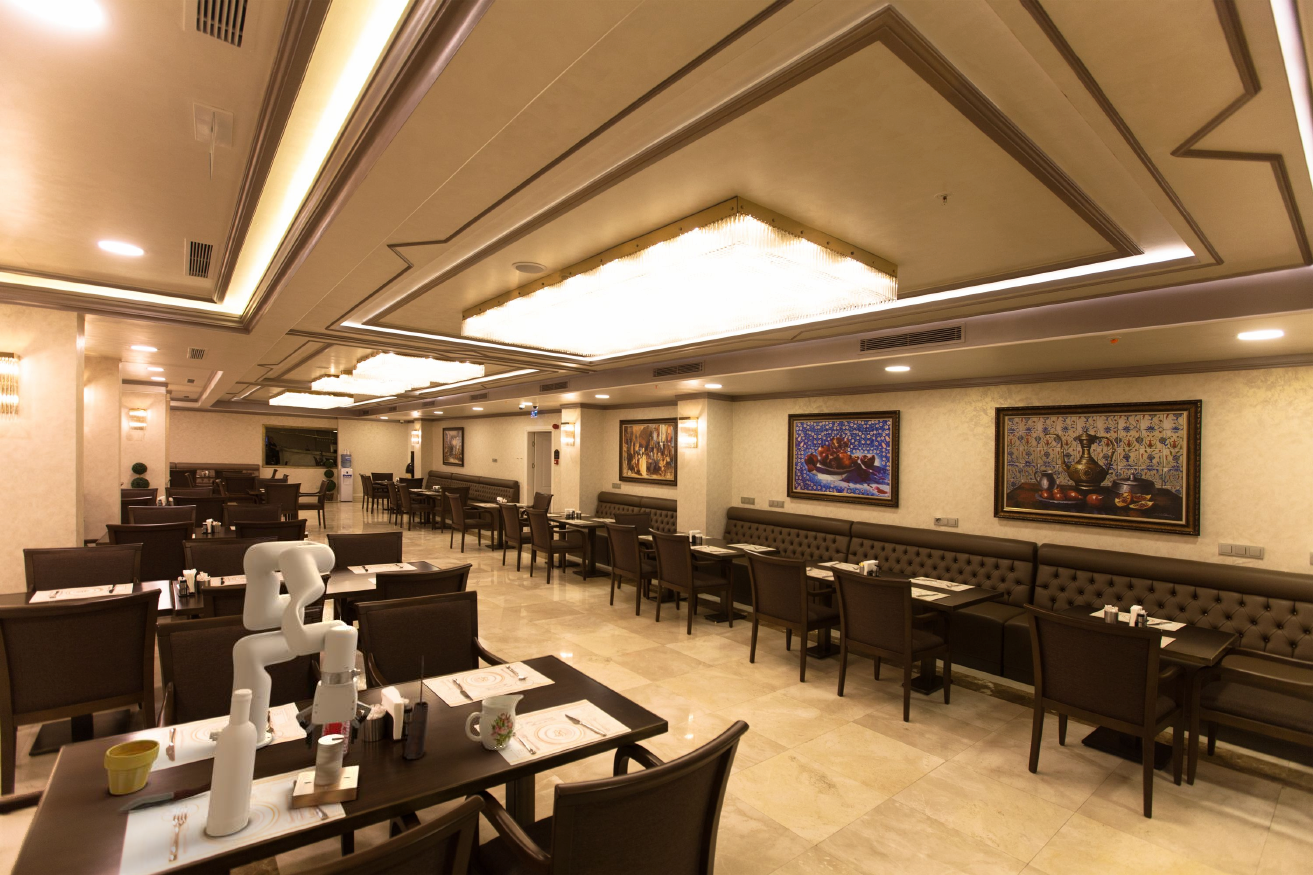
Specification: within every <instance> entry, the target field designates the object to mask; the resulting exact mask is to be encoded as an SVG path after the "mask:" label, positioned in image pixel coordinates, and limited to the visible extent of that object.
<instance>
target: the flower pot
mask: <svg viewBox="0 0 1313 875" xmlns="http://www.w3.org/2000/svg"><path fill="white" fill-rule="evenodd" d="M160 745H161V743H160V742H159V741H158V740H155V739H136V740H131V741H125V742H122V743H119V744H116V745H114V746H112V747H110V748H109V749H107V750H106V751H105V756H104V760H103V767H104V769H106V770H107V771H106V772H107V779H108V787H109V793H110V794H111V795H115V796H118V795H121V796H122V795H128V794H131V793H135V792H137V791H139V790H141V789H143V788H144V787H145V785H146V783H147V781H148V778H149V776H150V772H151V769H152V767H153V764H154V762H155V761H156V760H157V759H158V758H159V752H160Z"/></svg>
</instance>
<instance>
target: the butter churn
mask: <svg viewBox="0 0 1313 875" xmlns="http://www.w3.org/2000/svg"><path fill="white" fill-rule="evenodd" d="M424 659H425V656H424V655H422V656H421V669H420V670H421V672H420V692H419V701H418V702H415V703H414V704H413V705H414V706H413V709H412V710H413V711H412V713H411V714H412V716H411V720H410V721H411V722H410V726H409V731H408V736H407V740H406V745H405V750H404V757H405V758H406V759H407V760H417V759H420V757H422V756H423V755H424V750H425V743H426V731H427V724H428V716H429V715H428V714H429V702H427V701H423V685H424V684H423V680H424V679H423V678H424V663H425V660H424Z"/></svg>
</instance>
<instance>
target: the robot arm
mask: <svg viewBox="0 0 1313 875" xmlns="http://www.w3.org/2000/svg"><path fill="white" fill-rule="evenodd" d="M335 563H336V557H335V553H334V551H333V549H332V548H331V547H329V546H328V545H326V544H324V543H319V542H315V541H311V540H291V541H269V542H268V541H267V542H261V543H260V542H259V543H256V544H253V545H251V546H250V547H249V548H247V550H246V552H245V554H244V556H243V571H244V576H245V582H246V587H245V595H244V604H243V614H242V622H243V626H244V628H245V629H246V630H249V631H261V630H268V629H274V628H275V629H276V628H280V630H274V631H266V632H260V633H255V634H250V635H246V636H243V637H242V638H240V639H238V641H236V642H235V643H234V645H233V648H232V661H233V682H232V691H231V692H232V693H231V698H232V697H233V693H234V692H235V691H237V690H240V689H250V690H251V691H252V698H251V703H250V712H249V721H250V722H251V723H252V724H254V725H255V728H256V731H257V744H256V750H259V749H261V748H264V747H265V746H267V745H269V744H270V743H271V742H272V738H273V736H272V734H271V733H269V732H267V727H268V726H267V725H268V718H269V709H270V700H271V691H272V678H271V675H270V673H268V672H267V670H266V669H265V667H267V666H271V665H275V664H280V663H284V662H289V661H291V660H293V659H295V658H297V657H298V656H308V655H311V654H317V653H321V652H323V660H322V668H321V677H320V680H319V681H318V682H317V685H316V689H315V693H314V697H313V702H312V703H313V704H312V705H310V706H308V707H307V708H305V709H303V710H301V711H299V712H298V713H296V714H295V720H296V721H297V723H298V725H299V727H300V728H301V729H302V730H303V731H304V732H305V733H306V736H305V746H308V747H307V749H308V750H311V749H312V748H313V744H314V734H315V733H314V732H315V728H316V726H318V725H323V724H330V723H339V722H348V721H350V725H351V726H352V727H351V735H350V736H351V737H350V745H354V744H355V740H358V736H359V728H360V726H361V725H362V724H363V723H364V722H365V721H366V720H367V718H368V717H369V716H370V713H371V712H372V709H373V708H372V706H371V705H368V704H366V703H363V702H361V701H359V700H358V698H359V696H358V693H359V692H358V691H359V690H358V689H359V688H358V686H359V685H358V679H357V678H356V677H358V676H361V669H357V668H356V658H357V645H358V637H359V636H358V635H359V631H358V629H357V628H356V627H355V626H352V625H347V623H346V622H344V621H343V620H339V619H336V620H334V619H333V620H328V621H322V622H315V623H308V624H304V621H305V607H306V606H309V605H310V604H312V603H315V601H317V600H318V599H319V598H321V597H322V596H323V594H324V592H325V590H326V585H325V583H324V580H323V579H322V576H321V574H326V573H329V572H331V571H332V570H333V568H334V566H335ZM277 571H280V573H281V576H282V579H283V581H284V585H285V586H286V590H287V593H286V594H280V590H281V589H280V588H281V580H280V578H279V576H278V574H277V573H276V572H277ZM231 706H232V700H231V701H230V707H231ZM358 710H361V711H363V713H362V714H361V716H360V717H358V716H357V711H358ZM310 714H311V720H310V722H309V721H307V720H305V718H304V717H306V716H308V715H310ZM230 715H231V708H230V711H229V716H230ZM229 723H230V717H229V720H228V724H229ZM220 733H221V731H210V733H209V740H211V741H212V742H216V741H217V739H218V737H219V735H220Z"/></svg>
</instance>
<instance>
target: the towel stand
mask: <svg viewBox="0 0 1313 875" xmlns="http://www.w3.org/2000/svg"><path fill="white" fill-rule="evenodd" d="M359 770H360V765H352V766H345V767H344V766H343V767H342V770H341V778H340V780H339V781H338V782H336V783H333V784H330V785H323V786H322V785H316V784H315V783H314V778H315V770H312V771H311V770H310V771H304V772H303V771H302V772H299V773H298V776H297V779H296V783H295V785H294V789H293V793H292V796H291V807H290V809H301V808H307V807H312V806H313V807H315V806H320V805H327V804H334V803H342V802H347V801H354V800H357V790H358V789H357V788H358V779H359Z"/></svg>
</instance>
